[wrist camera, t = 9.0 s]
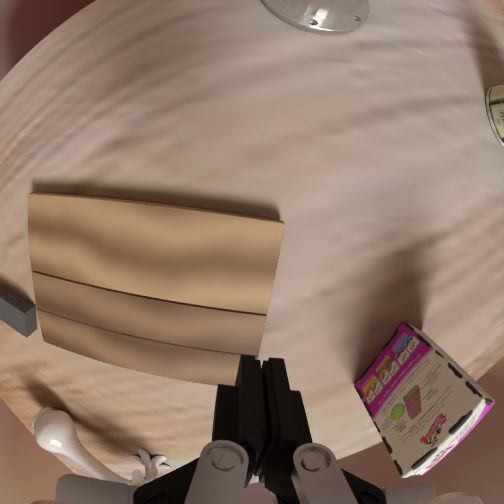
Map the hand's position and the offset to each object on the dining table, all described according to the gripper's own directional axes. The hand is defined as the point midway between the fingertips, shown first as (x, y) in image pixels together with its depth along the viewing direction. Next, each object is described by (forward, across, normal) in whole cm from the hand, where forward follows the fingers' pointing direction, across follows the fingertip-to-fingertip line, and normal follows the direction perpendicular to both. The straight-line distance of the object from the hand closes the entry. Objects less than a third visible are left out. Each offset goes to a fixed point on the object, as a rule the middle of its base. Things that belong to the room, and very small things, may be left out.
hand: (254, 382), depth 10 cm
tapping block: (+17, +31, +13) cm, 38 cm away
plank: (+17, +11, +1) cm, 20 cm away
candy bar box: (+17, -21, +11) cm, 29 cm away
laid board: (+17, +11, +10) cm, 23 cm away
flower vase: (+16, +19, +37) cm, 45 cm away
